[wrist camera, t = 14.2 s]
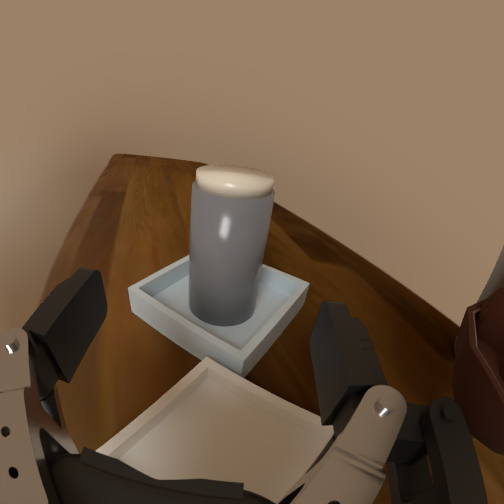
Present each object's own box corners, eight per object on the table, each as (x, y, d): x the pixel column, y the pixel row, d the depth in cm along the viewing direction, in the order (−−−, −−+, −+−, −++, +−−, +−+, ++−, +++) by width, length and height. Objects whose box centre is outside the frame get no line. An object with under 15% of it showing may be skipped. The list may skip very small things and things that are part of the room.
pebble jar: (266, 301, 24) (290, 177, 19) (230, 337, 20) (248, 189, 15) (215, 277, 27) (226, 161, 22) (174, 304, 22) (175, 170, 17)
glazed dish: (303, 304, 26) (309, 283, 25) (239, 383, 17) (243, 360, 16) (211, 263, 30) (212, 242, 29) (131, 311, 22) (128, 287, 21)
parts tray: (345, 445, 13) (358, 432, 12) (258, 582, 5) (266, 587, 4) (206, 374, 18) (206, 356, 17) (94, 472, 9) (81, 461, 8)
